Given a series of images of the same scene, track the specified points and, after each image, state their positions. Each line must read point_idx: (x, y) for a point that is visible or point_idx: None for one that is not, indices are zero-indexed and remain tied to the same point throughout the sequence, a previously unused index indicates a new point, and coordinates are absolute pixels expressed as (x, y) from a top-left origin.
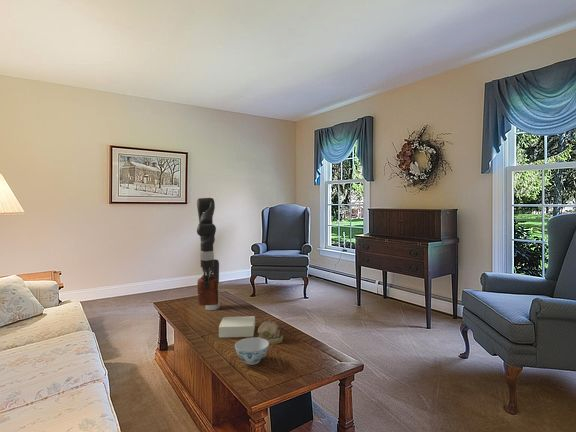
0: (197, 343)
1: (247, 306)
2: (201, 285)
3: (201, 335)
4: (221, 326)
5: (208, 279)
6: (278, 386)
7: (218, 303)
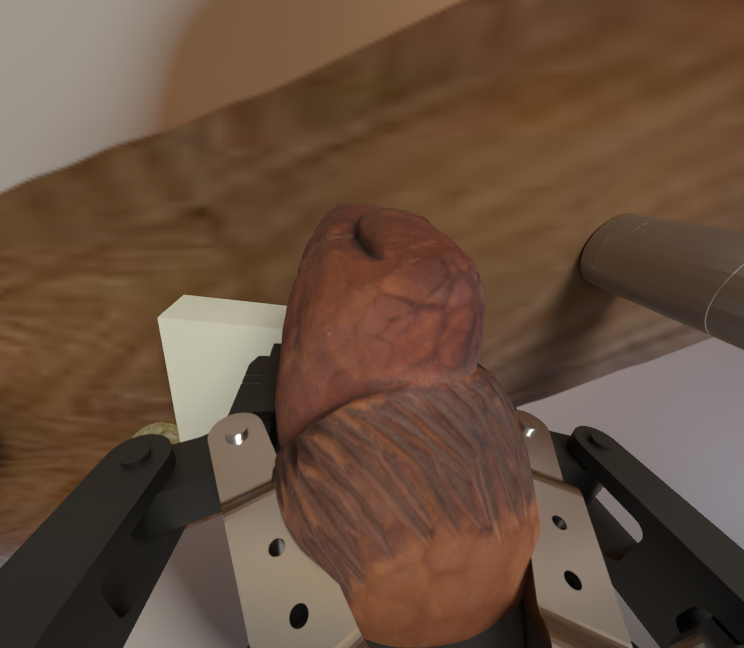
0: (88, 190)
1: (545, 389)
2: (285, 317)
3: (213, 207)
4: (168, 330)
5: (124, 574)
6: None
7: (609, 291)
